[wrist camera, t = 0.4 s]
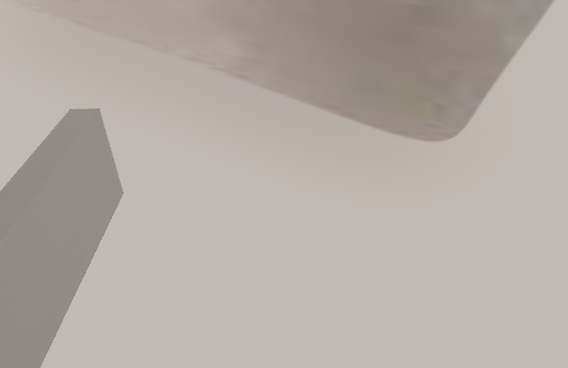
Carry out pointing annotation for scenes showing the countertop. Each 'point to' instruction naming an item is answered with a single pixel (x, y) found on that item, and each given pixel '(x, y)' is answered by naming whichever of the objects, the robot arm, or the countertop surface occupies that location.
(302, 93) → the countertop surface
